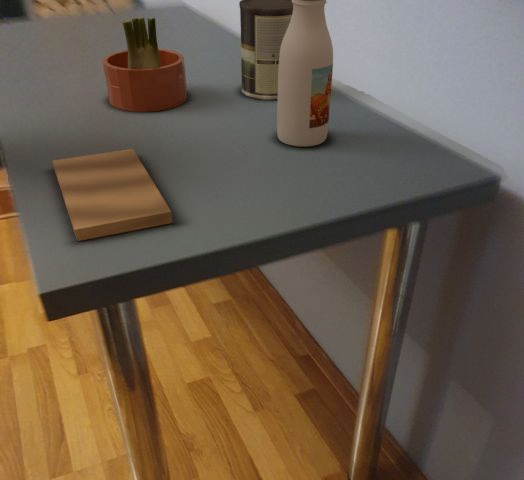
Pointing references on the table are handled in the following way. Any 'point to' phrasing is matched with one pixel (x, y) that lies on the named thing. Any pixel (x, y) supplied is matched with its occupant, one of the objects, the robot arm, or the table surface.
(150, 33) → the fennel bulb
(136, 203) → the board
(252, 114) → the table surface
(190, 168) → the table surface
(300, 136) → the milk bottle
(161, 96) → the pot
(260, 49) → the coffee can
